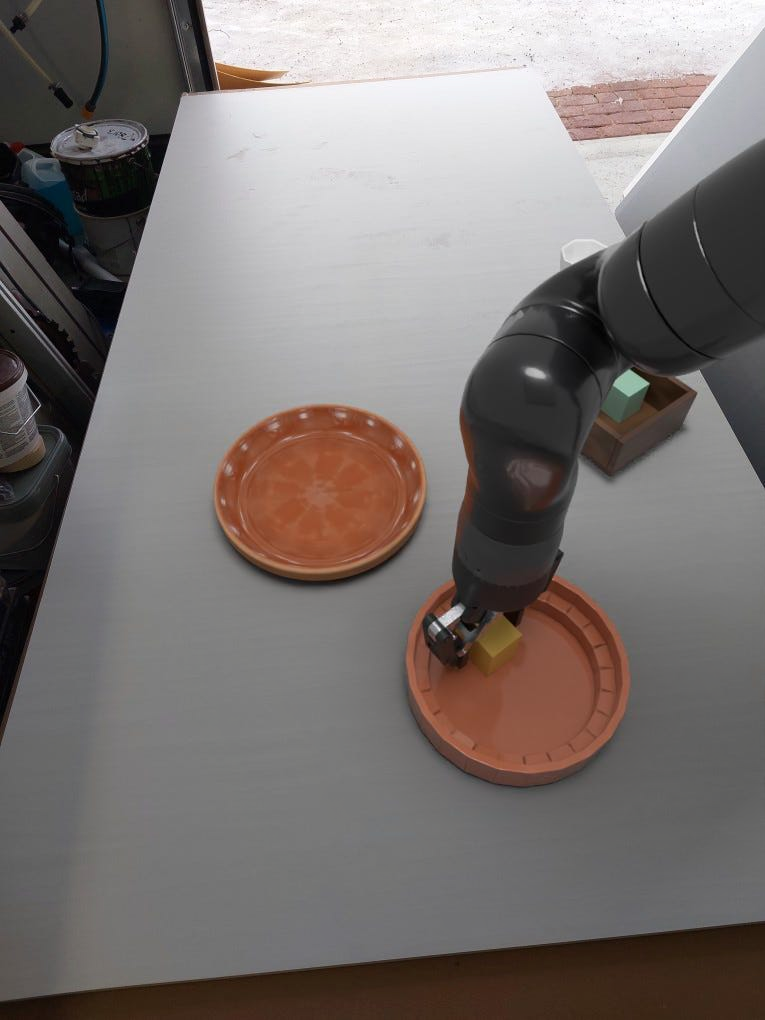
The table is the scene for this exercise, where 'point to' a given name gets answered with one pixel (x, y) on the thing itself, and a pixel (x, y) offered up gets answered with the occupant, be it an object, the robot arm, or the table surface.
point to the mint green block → (625, 396)
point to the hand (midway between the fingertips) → (482, 639)
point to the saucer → (320, 492)
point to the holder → (639, 424)
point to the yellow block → (494, 646)
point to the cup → (578, 251)
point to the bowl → (525, 691)
